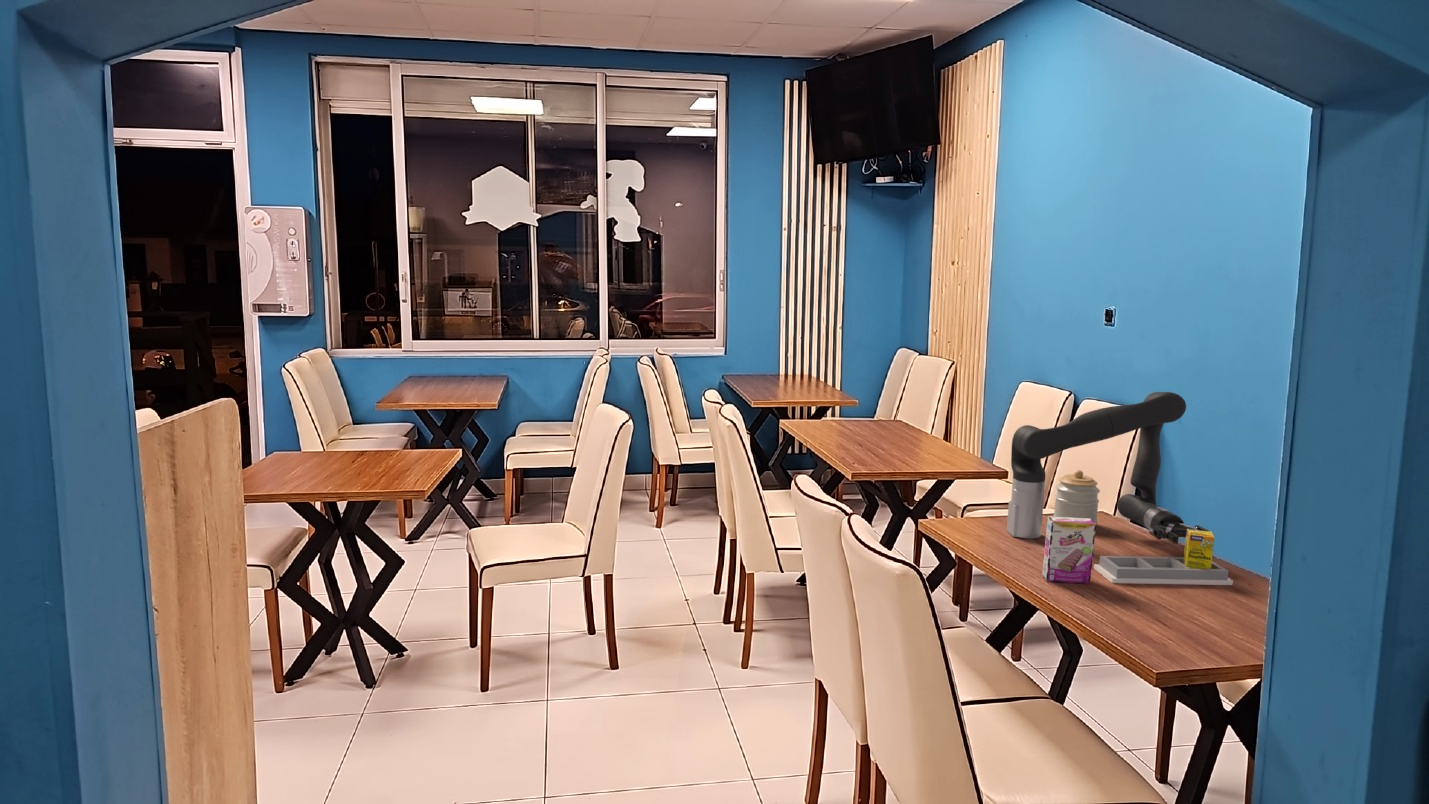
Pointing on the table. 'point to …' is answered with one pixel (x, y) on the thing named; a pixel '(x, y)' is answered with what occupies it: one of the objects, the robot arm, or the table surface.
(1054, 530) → the candy bar box
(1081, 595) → the table surface
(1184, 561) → the supplement box
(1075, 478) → the jar
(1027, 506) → the robot arm
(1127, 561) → the rack
